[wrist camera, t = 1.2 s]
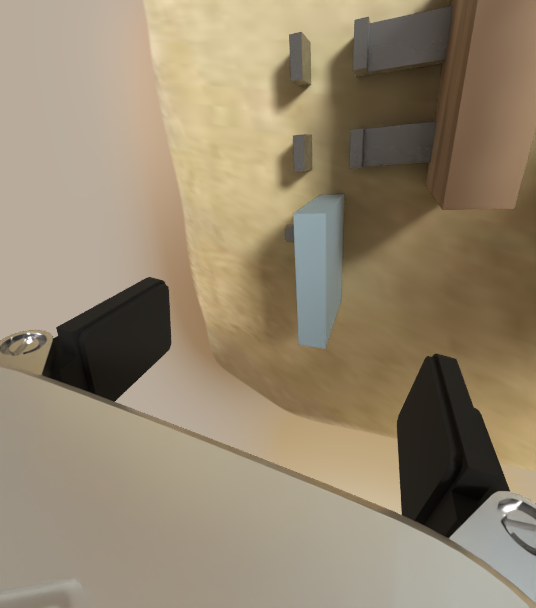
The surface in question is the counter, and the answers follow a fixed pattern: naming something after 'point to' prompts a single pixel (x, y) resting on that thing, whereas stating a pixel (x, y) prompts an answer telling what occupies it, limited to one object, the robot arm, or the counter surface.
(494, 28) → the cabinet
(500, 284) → the counter surface
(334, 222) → the block
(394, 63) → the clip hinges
